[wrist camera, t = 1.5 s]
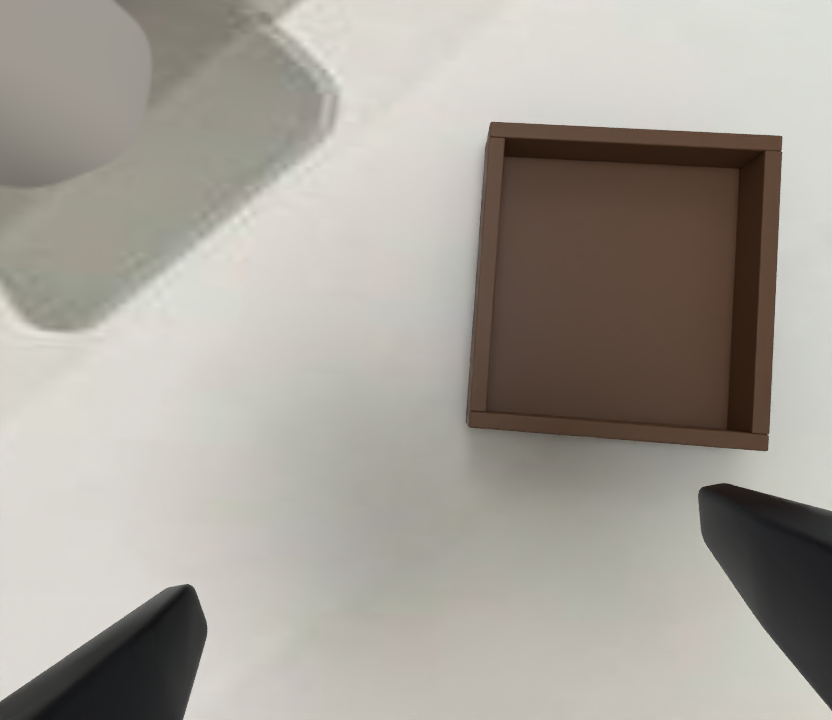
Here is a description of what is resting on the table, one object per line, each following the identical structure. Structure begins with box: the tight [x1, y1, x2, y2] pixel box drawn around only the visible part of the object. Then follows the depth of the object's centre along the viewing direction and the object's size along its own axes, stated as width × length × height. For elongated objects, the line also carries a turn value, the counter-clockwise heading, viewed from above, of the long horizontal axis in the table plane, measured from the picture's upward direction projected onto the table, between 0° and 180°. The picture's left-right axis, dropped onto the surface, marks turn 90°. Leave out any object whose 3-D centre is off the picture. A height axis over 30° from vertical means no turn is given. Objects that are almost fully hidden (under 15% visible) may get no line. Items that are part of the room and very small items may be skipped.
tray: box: [466, 122, 782, 451], centre depth 22 cm, size 13×12×2 cm
